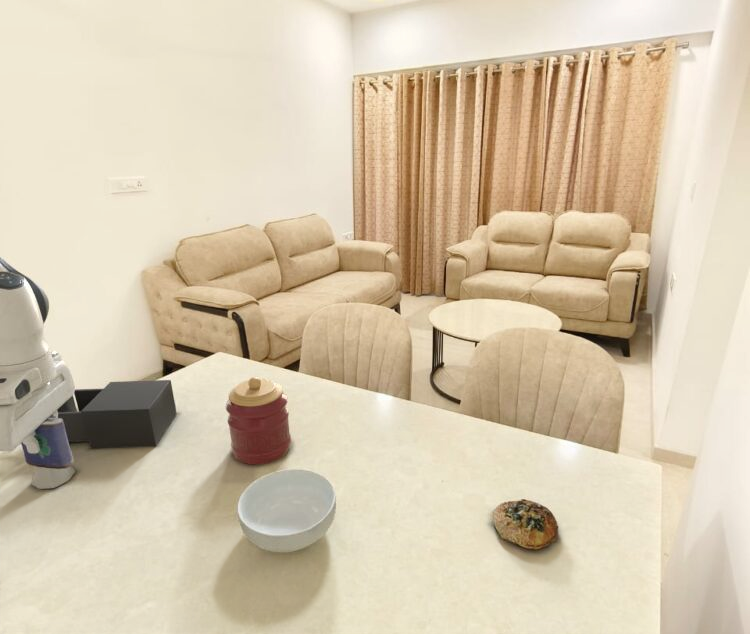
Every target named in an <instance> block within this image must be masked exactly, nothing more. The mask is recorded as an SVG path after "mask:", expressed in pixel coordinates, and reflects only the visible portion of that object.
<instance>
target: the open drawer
mask: <svg viewBox="0 0 750 634" xmlns="http://www.w3.org/2000/svg"><path fill="white" fill-rule="evenodd" d="M103 389H104V388H80V389H79V388H78V389H77V388H75V392H74V395H73V396H72V397H70V398H69V399H68V400H67V401H66V402H65V403H64V404H63V405H62V406H61V407H60V408H58V409H57V411H58V418H61V419H63V422H64V427H65V431H66V435H67V439H68V442H69V443H74V442H77V443H78V442H89V441H88V437H87V433H86V429H85V425H84V422H83V418H82V414H81V411H82V410H83V409H84V408H85V407H86V406H87V405H88V404H89V403H90V402H91V401H92V400H93V399H94V398H95V397H96V396H97V395H98V394H99V393H100V392H101V391H102V390H103Z"/></svg>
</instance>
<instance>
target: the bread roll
mask: <svg viewBox="0 0 750 634" xmlns="http://www.w3.org/2000/svg"><path fill="white" fill-rule="evenodd" d="M492 524H493V526H494V527H495V529H496V531H497V532H498V534H499V535H500V537H501V539H504V540H506V541H508V542H511V543H512V544H516V545H519V546H520V547H522V548H524V549H529V550H536V551H537V550H540V549H544V548H545V547H547V546H550V544H552V543H554V542H555V541H556V539H557V536H558V535H559V525H558V521H557V519H556V517H555V515H554V514H553V512H552V511H551V510H550V509H549V508H548V507H546V506H544V505H543V504H540V503H538V502H535V501H533V500H530V499H529V500H528V499H525V498H522V499H519V500H518V499H517V500H513V501H512V500H511V501H510V500H509V501H505V502H501V503H500V504H498V505H497V506H496V507H495V508H494V509H493V510H492Z"/></svg>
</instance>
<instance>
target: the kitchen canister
mask: <svg viewBox="0 0 750 634" xmlns="http://www.w3.org/2000/svg"><path fill="white" fill-rule="evenodd" d="M283 391H284V389H283V386H281V384H279V383H278V382H275V381H272V380H270V379H266V378H259V376H252V377H250V378H249V379H248V380H245V381H243V382H240V383H239V384H238V385H236V386H235V387H233V388H232V389H231V390H230V391H229V393H228V400H227V401H226V403H225V410H226V412H227V413H228V417H227V424H228V429H229V434H230V447H231V452H232V453H233V456H234V459H236V460H237V461H239V462H240V463H243V464H247V465H257V466H258V465H265V464H269V463H273V462H275V461H277V460H280V459H281V458H283V457H285V455H286V454H287V453H288V452H289V450H290V448H291V443H292V438H291V437H292V435H291V432H290V423H289V415H290V412H289V409H288V407H286V406H287V404H288V396H287V395H286V393H284V392H283Z"/></svg>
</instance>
